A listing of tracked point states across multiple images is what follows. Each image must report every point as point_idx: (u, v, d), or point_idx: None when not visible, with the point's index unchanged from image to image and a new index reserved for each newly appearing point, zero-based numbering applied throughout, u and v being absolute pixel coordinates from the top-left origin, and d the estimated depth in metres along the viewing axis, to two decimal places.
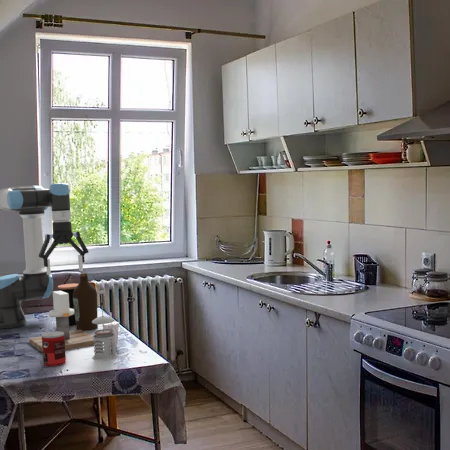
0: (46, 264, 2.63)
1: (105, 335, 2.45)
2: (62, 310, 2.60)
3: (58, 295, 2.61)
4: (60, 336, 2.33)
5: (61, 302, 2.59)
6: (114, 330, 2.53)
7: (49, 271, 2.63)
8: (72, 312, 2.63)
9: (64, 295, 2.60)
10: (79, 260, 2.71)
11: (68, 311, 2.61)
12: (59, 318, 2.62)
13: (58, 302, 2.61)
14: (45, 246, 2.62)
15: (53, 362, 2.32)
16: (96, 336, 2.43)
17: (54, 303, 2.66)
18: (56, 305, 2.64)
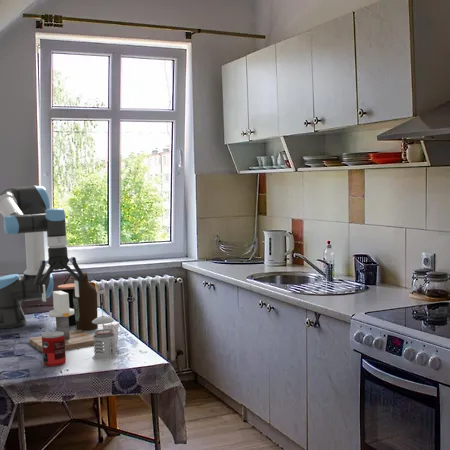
0: (41, 291, 2.59)
1: (105, 335, 2.45)
2: (62, 310, 2.60)
3: (58, 295, 2.61)
4: (60, 336, 2.33)
5: (61, 302, 2.59)
6: (114, 330, 2.53)
7: (44, 298, 2.59)
8: (72, 312, 2.63)
9: (64, 295, 2.60)
10: (75, 286, 2.67)
11: (68, 311, 2.61)
12: (59, 318, 2.62)
13: (58, 302, 2.61)
14: (40, 272, 2.58)
15: (53, 362, 2.32)
16: (96, 336, 2.43)
17: (54, 303, 2.66)
18: (56, 305, 2.64)
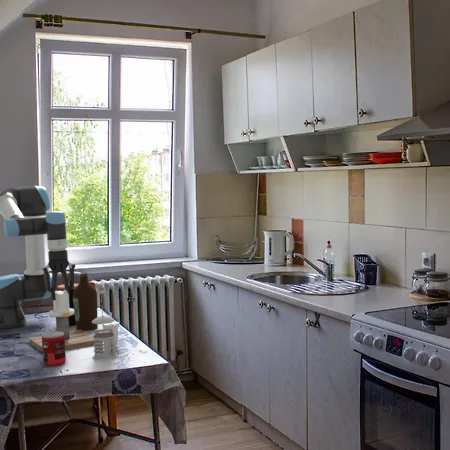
0: (54, 297, 2.62)
1: (105, 335, 2.45)
2: (62, 310, 2.60)
3: (58, 295, 2.61)
4: (60, 336, 2.33)
5: (61, 302, 2.59)
6: (114, 330, 2.53)
7: (57, 304, 2.62)
8: (72, 312, 2.63)
9: (64, 295, 2.60)
10: None
11: (68, 311, 2.61)
12: (59, 318, 2.62)
13: (59, 302, 2.61)
14: (47, 279, 2.60)
15: (53, 362, 2.32)
16: (96, 336, 2.43)
17: None
18: None
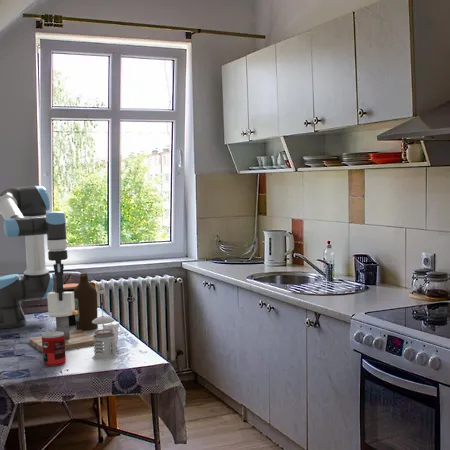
0: (62, 297, 2.61)
1: (105, 335, 2.45)
2: (72, 308, 2.62)
3: (65, 294, 2.62)
4: (60, 336, 2.33)
5: (71, 300, 2.62)
6: (114, 330, 2.53)
7: None
8: None
9: (72, 293, 2.63)
10: None
11: (74, 309, 2.65)
12: (59, 318, 2.62)
13: (65, 301, 2.62)
14: (62, 279, 2.58)
15: (53, 362, 2.32)
16: (96, 336, 2.43)
17: (51, 305, 2.63)
18: None
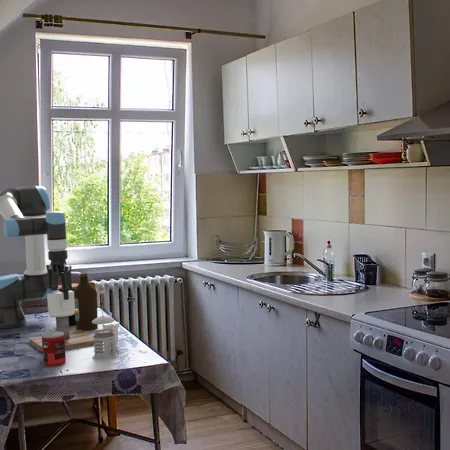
0: None
1: (105, 335, 2.45)
2: None
3: (68, 293, 2.64)
4: (60, 336, 2.33)
5: (73, 299, 2.65)
6: (114, 330, 2.53)
7: None
8: None
9: None
10: None
11: None
12: (59, 318, 2.62)
13: (68, 300, 2.64)
14: None
15: (53, 362, 2.32)
16: (96, 336, 2.43)
17: (53, 305, 2.61)
18: (60, 305, 2.63)
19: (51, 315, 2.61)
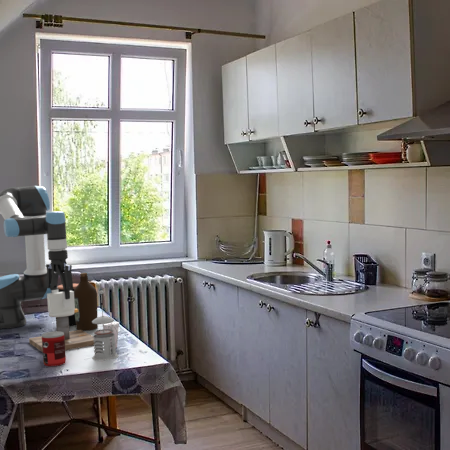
0: None
1: (105, 335, 2.45)
2: None
3: None
4: (60, 336, 2.33)
5: (73, 299, 2.66)
6: (114, 330, 2.53)
7: None
8: None
9: None
10: None
11: None
12: (59, 318, 2.62)
13: None
14: None
15: (53, 362, 2.32)
16: (96, 336, 2.43)
17: (54, 305, 2.61)
18: (61, 305, 2.63)
19: (51, 315, 2.61)
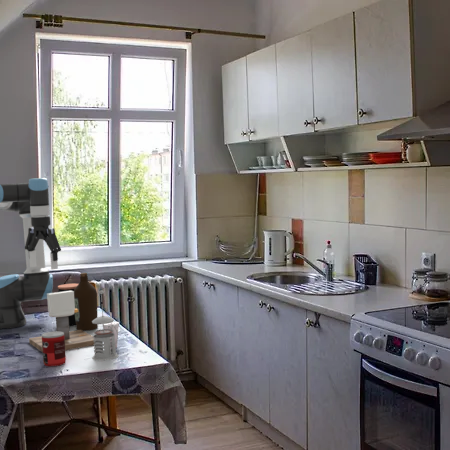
0: None
1: (105, 335, 2.45)
2: None
3: (68, 293, 2.64)
4: (60, 336, 2.33)
5: (73, 299, 2.66)
6: (114, 330, 2.53)
7: None
8: None
9: None
10: (33, 256, 2.70)
11: None
12: (59, 318, 2.62)
13: (68, 300, 2.64)
14: None
15: (53, 362, 2.32)
16: (96, 336, 2.43)
17: (54, 305, 2.61)
18: (61, 305, 2.63)
19: (51, 315, 2.61)
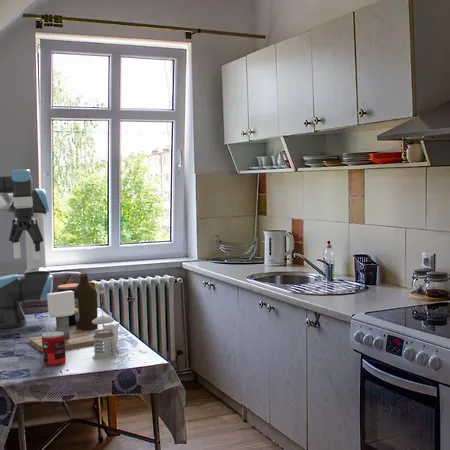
0: None
1: (105, 335, 2.45)
2: None
3: (68, 293, 2.64)
4: (60, 336, 2.33)
5: (73, 299, 2.66)
6: (114, 330, 2.53)
7: (39, 255, 2.66)
8: None
9: None
10: (17, 247, 2.73)
11: None
12: (59, 318, 2.62)
13: (68, 300, 2.64)
14: None
15: (53, 362, 2.32)
16: (96, 336, 2.43)
17: (54, 305, 2.61)
18: (61, 305, 2.63)
19: (51, 315, 2.61)
